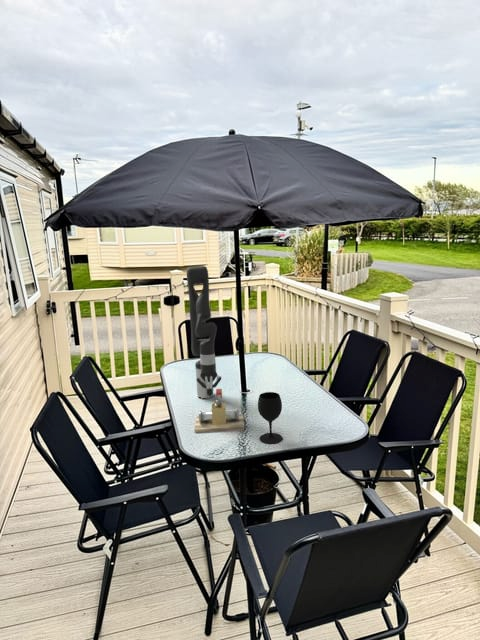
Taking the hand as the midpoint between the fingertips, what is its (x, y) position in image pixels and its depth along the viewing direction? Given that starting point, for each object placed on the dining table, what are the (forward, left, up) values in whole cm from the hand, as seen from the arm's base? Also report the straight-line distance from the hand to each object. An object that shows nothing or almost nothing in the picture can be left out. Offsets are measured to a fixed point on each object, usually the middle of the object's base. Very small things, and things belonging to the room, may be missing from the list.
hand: (210, 395), depth 215 cm
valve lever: (+5, +5, 0) cm, 7 cm away
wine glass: (+30, +28, -10) cm, 42 cm away
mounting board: (+12, +5, -10) cm, 17 cm away
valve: (+12, +5, -9) cm, 16 cm away
